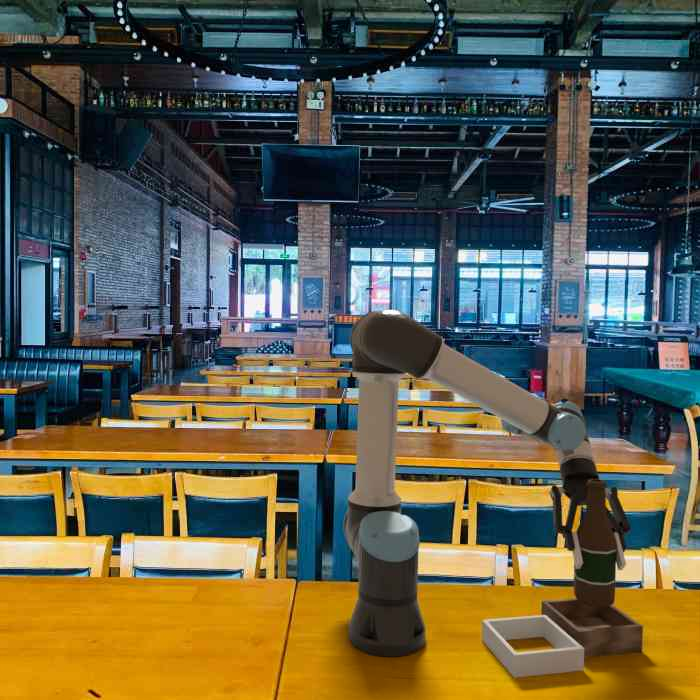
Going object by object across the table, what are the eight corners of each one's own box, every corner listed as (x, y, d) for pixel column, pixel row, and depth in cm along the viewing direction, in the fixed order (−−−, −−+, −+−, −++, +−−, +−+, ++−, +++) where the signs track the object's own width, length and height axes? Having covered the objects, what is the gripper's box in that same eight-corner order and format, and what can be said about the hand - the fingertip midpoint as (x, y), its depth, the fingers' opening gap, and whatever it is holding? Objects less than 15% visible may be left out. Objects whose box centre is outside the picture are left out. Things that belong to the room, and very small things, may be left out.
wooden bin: (578, 658, 117) (578, 631, 117) (541, 624, 130) (541, 600, 130) (642, 651, 120) (642, 626, 120) (599, 619, 133) (600, 596, 133)
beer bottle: (577, 588, 131) (580, 474, 130) (617, 597, 127) (620, 479, 126) (569, 602, 124) (572, 481, 123) (611, 611, 120) (615, 487, 119)
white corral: (513, 677, 110) (514, 655, 110) (481, 640, 123) (482, 620, 123) (583, 670, 113) (584, 648, 113) (544, 634, 126) (545, 614, 126)
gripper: (619, 475, 139) (648, 576, 124) (526, 473, 140) (543, 573, 125) (629, 457, 134) (660, 559, 118) (533, 454, 135) (551, 556, 119)
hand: (600, 566), depth 122 cm, fingers closed on beer bottle, 7 cm apart
